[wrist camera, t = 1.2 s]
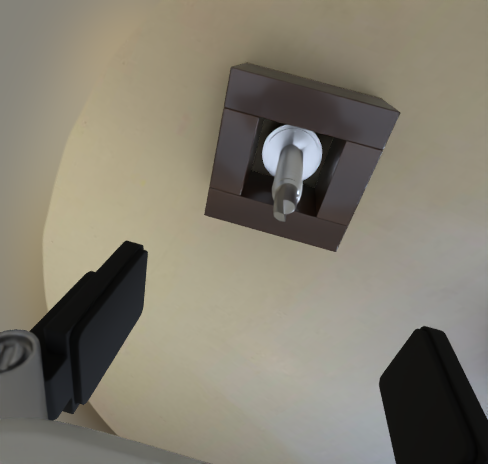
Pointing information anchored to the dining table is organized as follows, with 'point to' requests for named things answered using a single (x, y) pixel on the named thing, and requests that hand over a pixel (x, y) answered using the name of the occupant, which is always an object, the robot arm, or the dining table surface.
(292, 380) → the dining table surface
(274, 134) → the screw
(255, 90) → the holder
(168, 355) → the dining table surface
